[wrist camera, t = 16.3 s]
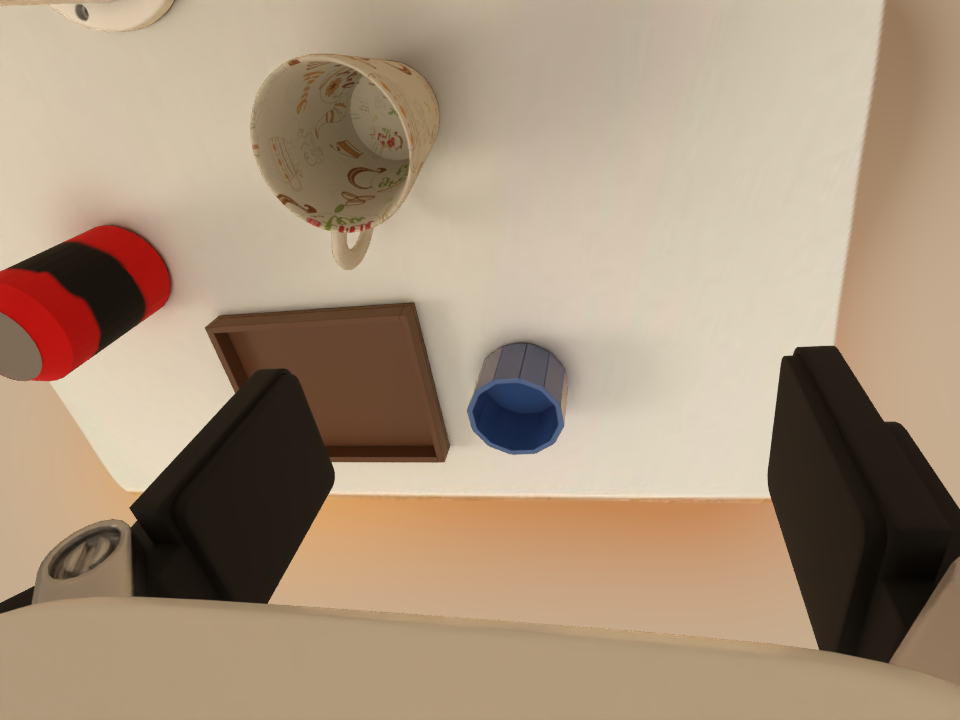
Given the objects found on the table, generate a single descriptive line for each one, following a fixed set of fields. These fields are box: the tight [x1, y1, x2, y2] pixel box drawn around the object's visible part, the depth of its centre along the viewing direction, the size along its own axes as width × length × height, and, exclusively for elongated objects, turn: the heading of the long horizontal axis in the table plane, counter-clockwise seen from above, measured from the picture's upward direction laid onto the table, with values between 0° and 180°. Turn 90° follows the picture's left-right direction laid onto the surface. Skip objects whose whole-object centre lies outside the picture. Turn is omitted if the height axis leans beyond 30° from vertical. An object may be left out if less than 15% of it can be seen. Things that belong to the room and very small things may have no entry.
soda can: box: [0, 226, 170, 381], centre depth 42 cm, size 8×8×12 cm
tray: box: [205, 303, 450, 462], centre depth 48 cm, size 17×14×2 cm
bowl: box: [467, 343, 568, 455], centre depth 43 cm, size 7×7×5 cm
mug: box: [250, 54, 439, 270], centre depth 33 cm, size 8×13×10 cm, turn 172°
